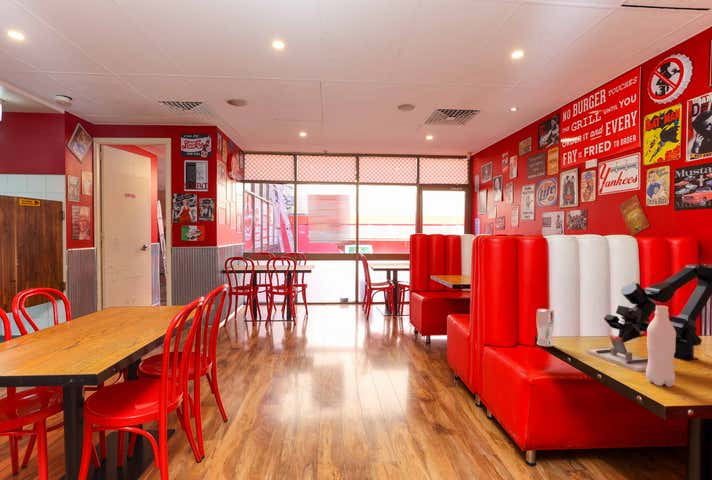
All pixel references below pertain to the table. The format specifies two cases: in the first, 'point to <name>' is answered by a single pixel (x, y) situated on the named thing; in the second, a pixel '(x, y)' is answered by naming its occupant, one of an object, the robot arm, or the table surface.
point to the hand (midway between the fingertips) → (619, 342)
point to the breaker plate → (620, 358)
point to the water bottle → (661, 348)
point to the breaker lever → (618, 344)
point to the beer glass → (545, 327)
